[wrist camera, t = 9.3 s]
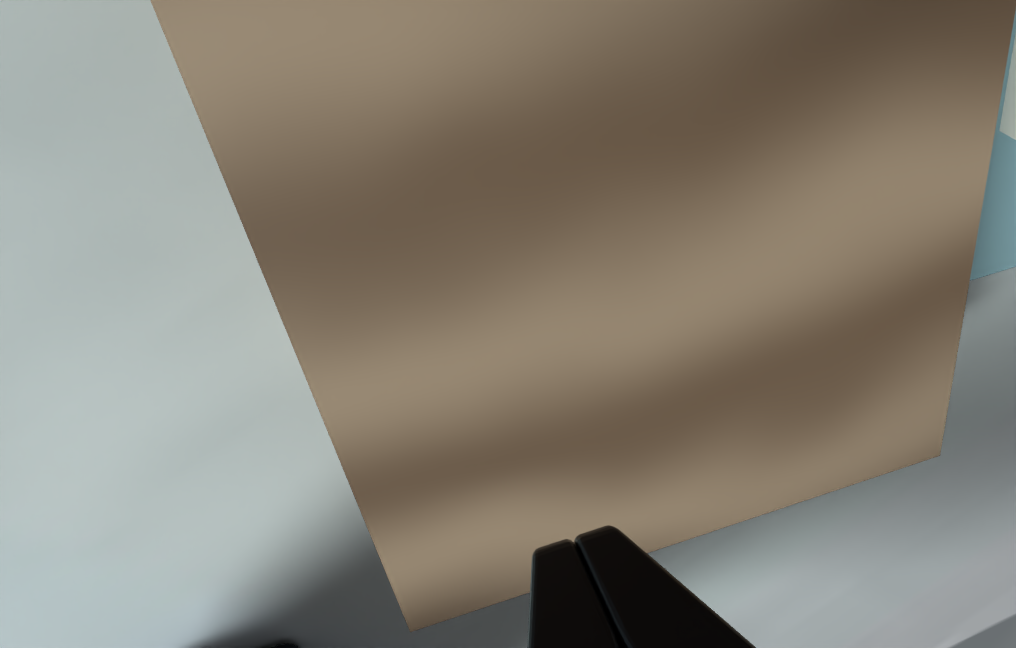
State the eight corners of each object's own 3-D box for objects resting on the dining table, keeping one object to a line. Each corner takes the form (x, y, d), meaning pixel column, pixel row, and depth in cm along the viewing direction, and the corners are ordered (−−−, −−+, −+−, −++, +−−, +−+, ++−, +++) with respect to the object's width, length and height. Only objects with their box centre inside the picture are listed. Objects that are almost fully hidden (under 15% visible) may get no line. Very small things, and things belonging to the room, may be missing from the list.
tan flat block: (852, 362, 26) (939, 455, 23) (386, 511, 25) (410, 632, 22) (944, -798, 13) (1180, -957, 10) (-51, -622, 11) (-154, -742, 8)
